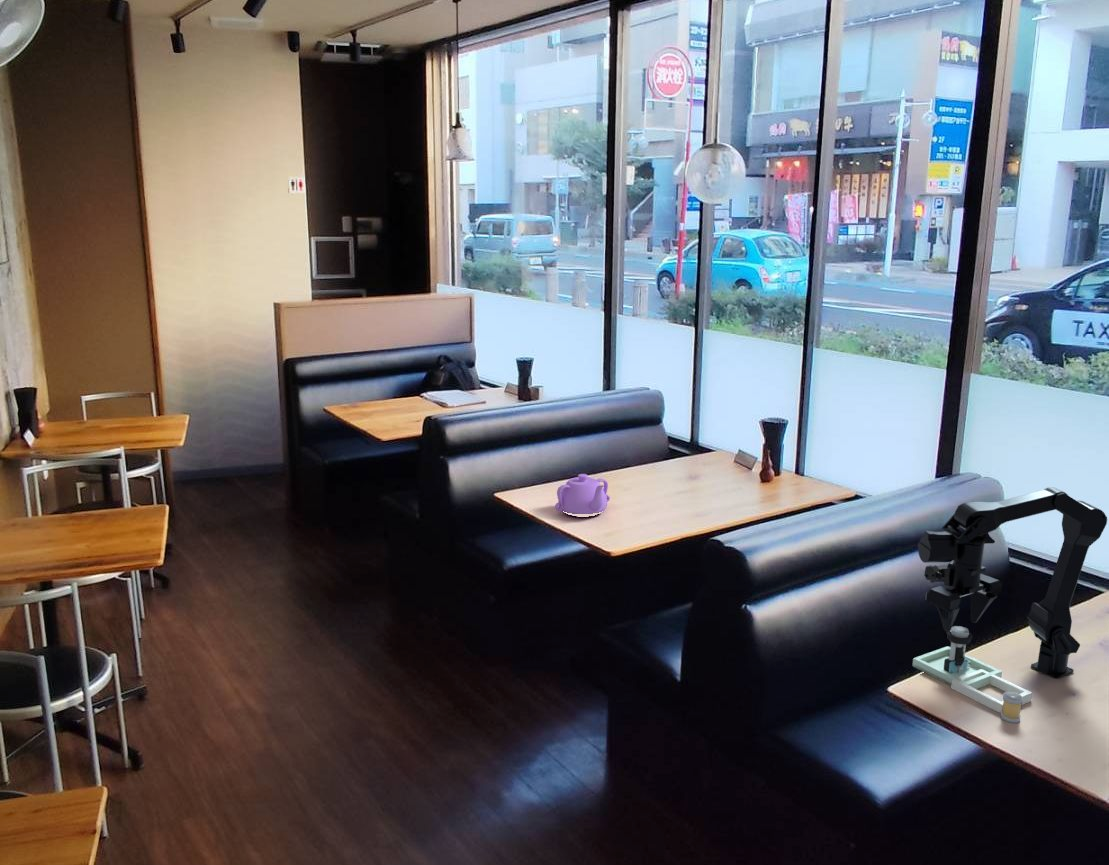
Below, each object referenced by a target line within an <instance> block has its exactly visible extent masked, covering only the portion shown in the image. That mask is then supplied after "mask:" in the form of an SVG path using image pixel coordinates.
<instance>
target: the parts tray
mask: <svg viewBox="0 0 1109 865" xmlns="http://www.w3.org/2000/svg"><path fill="white" fill-rule="evenodd" d="M950 648H951V646H944V647H941V648H939V649H936V650H933V651H931V652H927V653H924V654H922V655H919V656H916V657H914V658H913V659H912V667H913V668H915V669H917V670H919V671H921V672H923V673H924V674H927V675H929V676H931V677H933V678H935V679H937V680H939V681H941V682H943V683H945V684H947V685H949V686H950V687H951V686H952V680H954V679H956V680H958V681H960V682H962V683H964V684H967V685H969V686H971V687H973V688H975V689H977V690H978V689H981V688H983V687H985V686H989V685H991V684H990V678H991V675H996V676H998V677H1000V678H1002V675H1003V670H1001V669H998V668H996V667H994V666H992V665H989V664H988V663H986V662H983V661H981V660H979V659H977V658H974V657H972V656H970V655H969V654H966V653H965V659H967V660H969V661H971V662H969V661H968V662H969V663H967V664H969V665H970V666H967V669H966V670H965V671H963V672H962V673H959V672H956V673H952V674H951V673H949V672H947V671H946V670H944V661H945V659H947V658H949V656H950ZM980 669H983V670H985V671H987V672H989V673H987V674H985V675H982V676H980V677H977V678H974V679H972V680H969V681H967V682H966V681H964V680H962V679H960V678H959V677H961V676H964V675H967V674H969V673H972V672H975V671H977V670H980Z"/></svg>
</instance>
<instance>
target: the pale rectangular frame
mask: <svg viewBox="0 0 1109 865" xmlns="http://www.w3.org/2000/svg"><path fill="white" fill-rule="evenodd" d="M987 673H989V672H987V671H985V670H983V669H980V670H977V671H975V672H972V673H969V674H967V675H964V676H961V677H959V678H960V679H962V680H964V681H966V682H967V681H969V680H972V679H974V678H977V677H980V676H982V675H985V674H987ZM989 685H991V686H993V687H995V688H997V689H999V690H1001V691H1004V693H1005V692H1014V693H1017V694H1019V695H1021V696H1022V697H1023V702H1022V703H1021V707H1022V706H1023V705H1025V704H1027V703H1029V702H1032V697H1033V696H1032V695H1033V692H1032V691H1030V690H1028V689H1025V688H1023V687H1021V686H1018V685H1016V684H1014V683H1012V682H1010V681H1009V680H1006V679H1004V678H1002V677H1001V678H1000V677H998V676H996V675H991V678H990V684H989ZM950 687H951V688H950V689H952V690H954V691H955V692H957V693H960V694H962V695H964V696H965V697H967V698H970V699H972V700H973V701H976V702H977V703H980V704H982V705H983V706H985V707H987V708H989V709H991V710H994V711H995V712H997V713H999V714H1001V712H1002V710H1003V702H1004V700H999V699H997V698H995V697H992V696H991V695H989V694H987V693H984V692H983V691H981V690H978V689H975V688H973V687H971V686H969V685H967V684H964V683H962V682H960V681H958V680H956V679H954V680H952V686H951V685H950Z"/></svg>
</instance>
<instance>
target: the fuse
mask: <svg viewBox="0 0 1109 865" xmlns="http://www.w3.org/2000/svg"><path fill="white" fill-rule="evenodd" d="M1002 699H1003V701H1004V702H1003V710H1002V712H1001V713H1000V718H1001V720H1003V721H1004V722H1008V723H1011V724H1018V723H1020V722H1021V707H1022V706H1021V703H1022V702H1023V697H1022V696H1021V695H1019V694H1017V693H1014V692H1005V691H1004V692H1003V694H1002Z"/></svg>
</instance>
